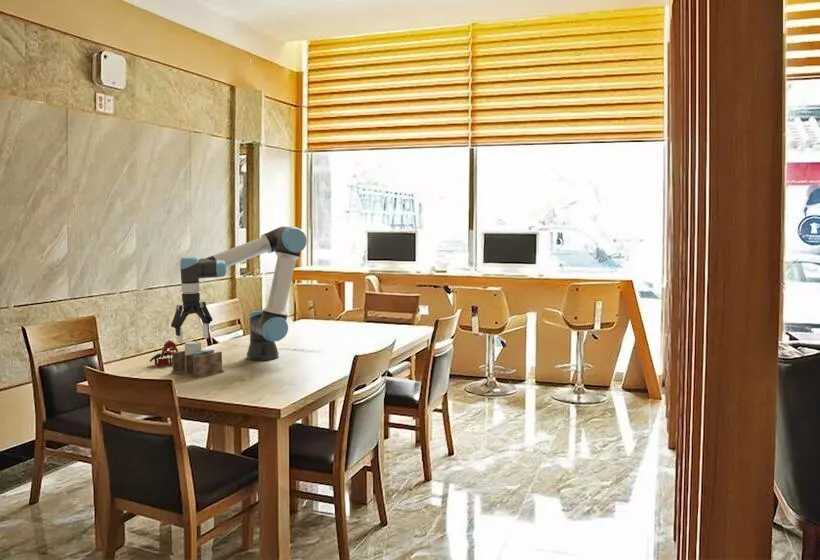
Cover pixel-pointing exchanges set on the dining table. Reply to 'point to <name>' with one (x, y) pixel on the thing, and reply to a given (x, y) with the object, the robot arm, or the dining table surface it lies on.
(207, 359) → the rack
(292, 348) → the dining table surface
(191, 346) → the skincare box
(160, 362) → the logo sign
